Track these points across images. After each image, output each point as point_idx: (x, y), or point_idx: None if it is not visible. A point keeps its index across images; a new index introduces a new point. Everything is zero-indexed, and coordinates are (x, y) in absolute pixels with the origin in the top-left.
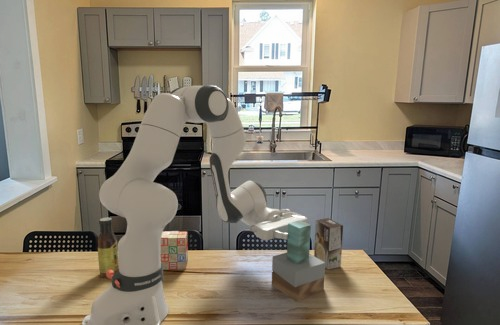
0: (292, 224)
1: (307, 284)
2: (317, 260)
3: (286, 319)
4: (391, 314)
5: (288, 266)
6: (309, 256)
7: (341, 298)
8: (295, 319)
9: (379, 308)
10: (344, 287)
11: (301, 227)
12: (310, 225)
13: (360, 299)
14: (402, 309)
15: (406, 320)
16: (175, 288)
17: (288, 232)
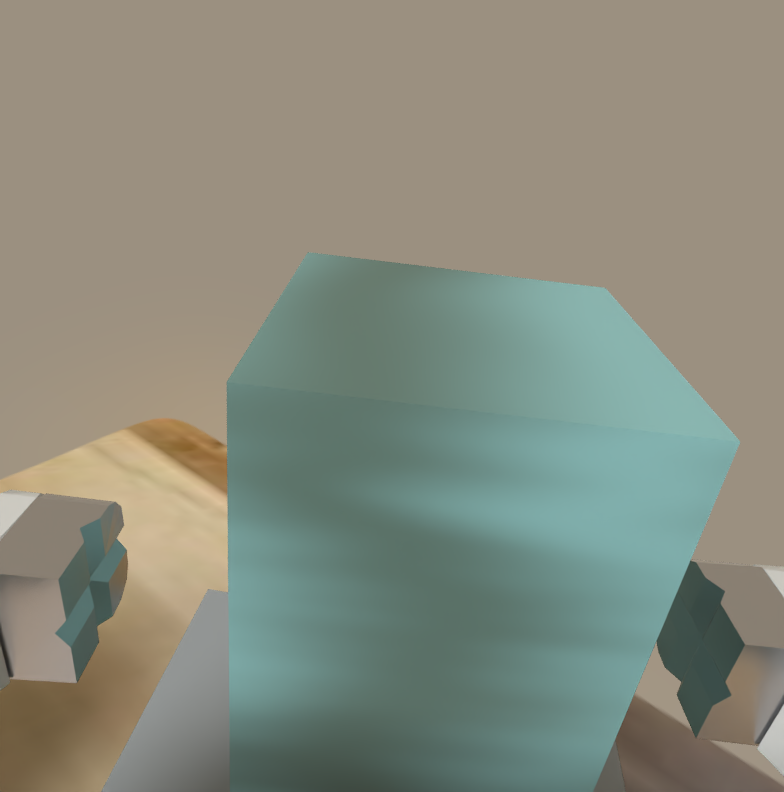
0: (647, 373)
1: None
2: (214, 659)
3: (690, 737)
4: (203, 467)
5: (612, 788)
6: (168, 789)
7: None
8: (634, 702)
9: (188, 501)
10: (61, 696)
11: (549, 281)
12: (317, 260)
13: (163, 575)
14: (131, 453)
15: (207, 434)
16: None
17: (644, 636)
